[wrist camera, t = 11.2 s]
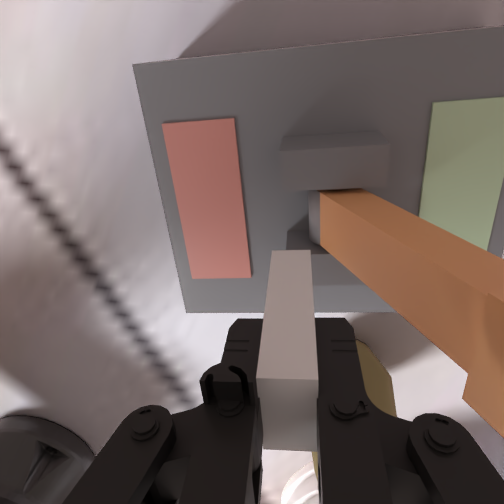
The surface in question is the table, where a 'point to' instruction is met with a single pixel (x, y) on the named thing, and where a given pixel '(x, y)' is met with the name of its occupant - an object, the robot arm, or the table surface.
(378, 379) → the squeeze bottle
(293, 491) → the plate stack
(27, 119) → the table surface
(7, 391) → the table surface
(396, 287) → the breaker lever
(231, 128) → the switch block
